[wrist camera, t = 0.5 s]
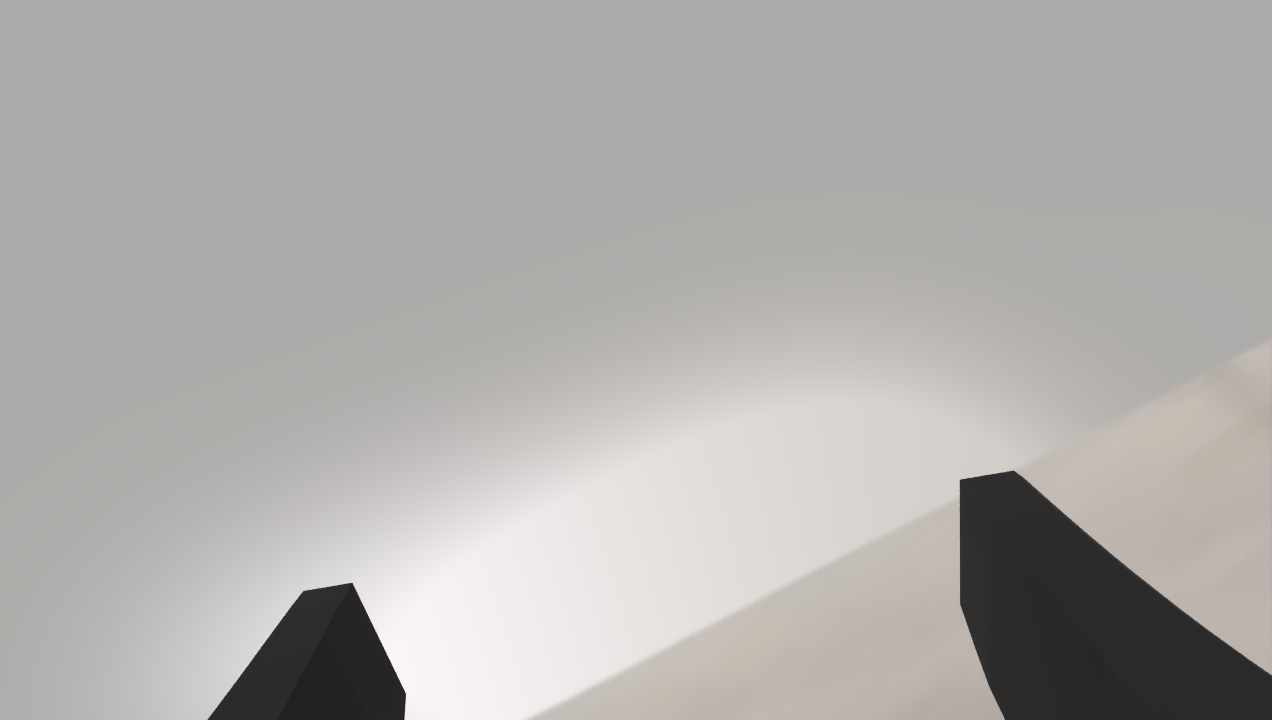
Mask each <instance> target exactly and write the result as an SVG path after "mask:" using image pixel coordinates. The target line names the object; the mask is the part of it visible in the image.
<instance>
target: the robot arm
mask: <svg viewBox="0 0 1272 720" xmlns="http://www.w3.org/2000/svg"><path fill="white" fill-rule="evenodd" d="M960 605H961V608H962V611H963V614H964V616H965V619H966V622H967V625H968V628H969V631H970V634H971V637H972V640H973V643H974V646H975V649H976V651H977V654H978V657H979V660H980V662H981V665H982V668H983V671H984V673H985V676H986V679H987V682H988V684H989V687H990V689H991V691H992V693H993V695H994V697H995V699H996V702H997V704H998V706H999V708H1000V710H1001V712H1002V714H1003V716H1004V718H1005V720H1272V675H1271V674H1269V673H1268V672H1266V671H1265V670H1263V669H1262V668H1260V667H1259V666H1257V665H1256V664H1254V663H1253V662H1252V661H1250V660H1249V659H1247V658H1246V657H1245V656H1243V655H1242V654H1241V653H1239V652H1238V651H1236V650H1235V649H1234V648H1232V647H1231V646H1229V645H1228V644H1227V643H1225V642H1224V641H1222V640H1221V639H1220V638H1218V637H1217V636H1215V635H1214V634H1213V633H1211V632H1210V631H1209V630H1207V629H1206V628H1205V627H1203V626H1202V625H1201V624H1199V623H1198V622H1197V621H1195V620H1194V619H1193V618H1191V617H1190V616H1189V615H1187V614H1186V613H1185V612H1183V611H1182V610H1181V609H1179V608H1178V607H1177V606H1176V605H1174V604H1173V603H1172V602H1170V601H1169V600H1168V599H1167V598H1165V597H1164V596H1163V595H1162V594H1160V593H1159V592H1158V591H1157V590H1155V589H1154V588H1153V587H1152V586H1150V585H1149V584H1148V583H1146V582H1145V581H1144V580H1143V579H1141V578H1140V577H1139V576H1138V575H1136V574H1135V573H1134V572H1133V571H1131V570H1130V569H1129V568H1128V567H1126V566H1125V565H1124V564H1123V563H1122V562H1120V561H1119V560H1118V559H1117V558H1115V557H1114V556H1113V555H1112V554H1111V553H1109V552H1108V551H1107V550H1106V549H1105V548H1103V547H1102V546H1101V545H1100V544H1099V543H1098V542H1096V541H1095V540H1094V539H1093V538H1092V537H1091V536H1089V535H1088V534H1087V533H1086V532H1085V531H1083V530H1082V529H1081V528H1080V527H1079V526H1078V525H1076V524H1075V523H1074V522H1073V521H1072V520H1071V519H1070V518H1068V517H1067V516H1066V515H1065V514H1064V513H1063V512H1062V511H1060V510H1059V509H1058V508H1057V507H1056V506H1055V505H1054V504H1052V503H1051V502H1050V501H1049V500H1048V499H1047V498H1046V497H1045V496H1043V495H1042V494H1041V493H1040V492H1039V491H1038V490H1037V489H1036V488H1034V487H1033V486H1032V485H1031V484H1030V483H1029V482H1028V481H1027V480H1025V479H1024V478H1023V477H1022V476H1020V475H1019V474H1018V473H1016V472H1015V471H1009V472H1003V473H997V474H991V475H985V476H979V477H974V478H967V479H962V480H960ZM405 700H406V693H405V691H404V689H403V687H402V685H401V683H400V681H399V678H398V677H397V674H396V672H395V670H394V668H393V666H392V664H391V662H390V660H389V658H388V656H387V654H386V652H385V650H384V647H383V645H382V643H381V642H380V639H379V637H378V635H377V633H376V631H375V629H374V627H373V625H372V623H371V621H370V619H369V616H368V614H367V612H366V610H365V608H364V606H363V604H362V602H361V600H360V598H359V596H358V594H357V592H356V589H355V587H354V585H353V583H348V584H342V585H337V586H331V587H326V588H319V589H313V590H307V591H303V592H302V594H301V595H300V596H299V597H298V599H297V600H296V601H295V603H294V604H293V605H292V606H291V608H290V609H289V610H288V612H287V613H286V614H285V616H284V617H283V619H282V620H281V621H280V623H279V624H278V625H277V627H276V628H275V629H274V631H273V632H272V634H271V635H270V636H269V638H268V639H267V640H266V642H265V643H264V644H263V646H262V647H261V649H260V650H259V651H258V653H257V654H256V655H255V657H254V658H253V660H252V661H251V662H250V664H249V665H248V666H247V668H246V669H245V670H244V672H243V673H242V674H241V676H240V677H239V678H238V680H237V681H236V683H235V684H234V685H233V687H232V688H231V689H230V691H229V692H228V693H227V695H226V696H225V697H224V699H223V700H222V701H221V703H220V704H219V705H218V707H217V708H216V709H215V711H214V712H213V713H212V715H211V716H210V717H209V718H208V720H404V717H405Z"/></svg>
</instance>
